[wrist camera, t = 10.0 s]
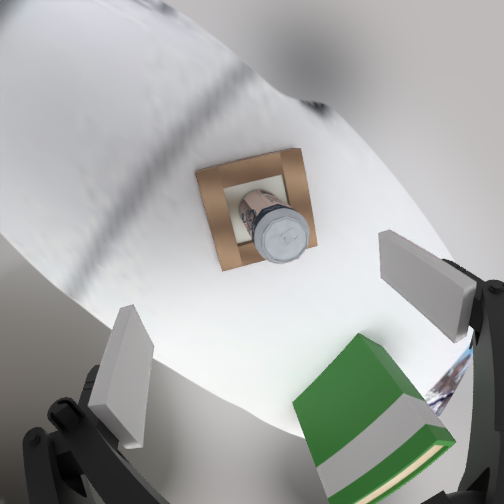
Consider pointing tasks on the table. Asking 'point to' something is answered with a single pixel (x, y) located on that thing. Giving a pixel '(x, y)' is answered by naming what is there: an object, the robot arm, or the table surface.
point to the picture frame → (241, 183)
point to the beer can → (274, 226)
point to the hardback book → (368, 426)
